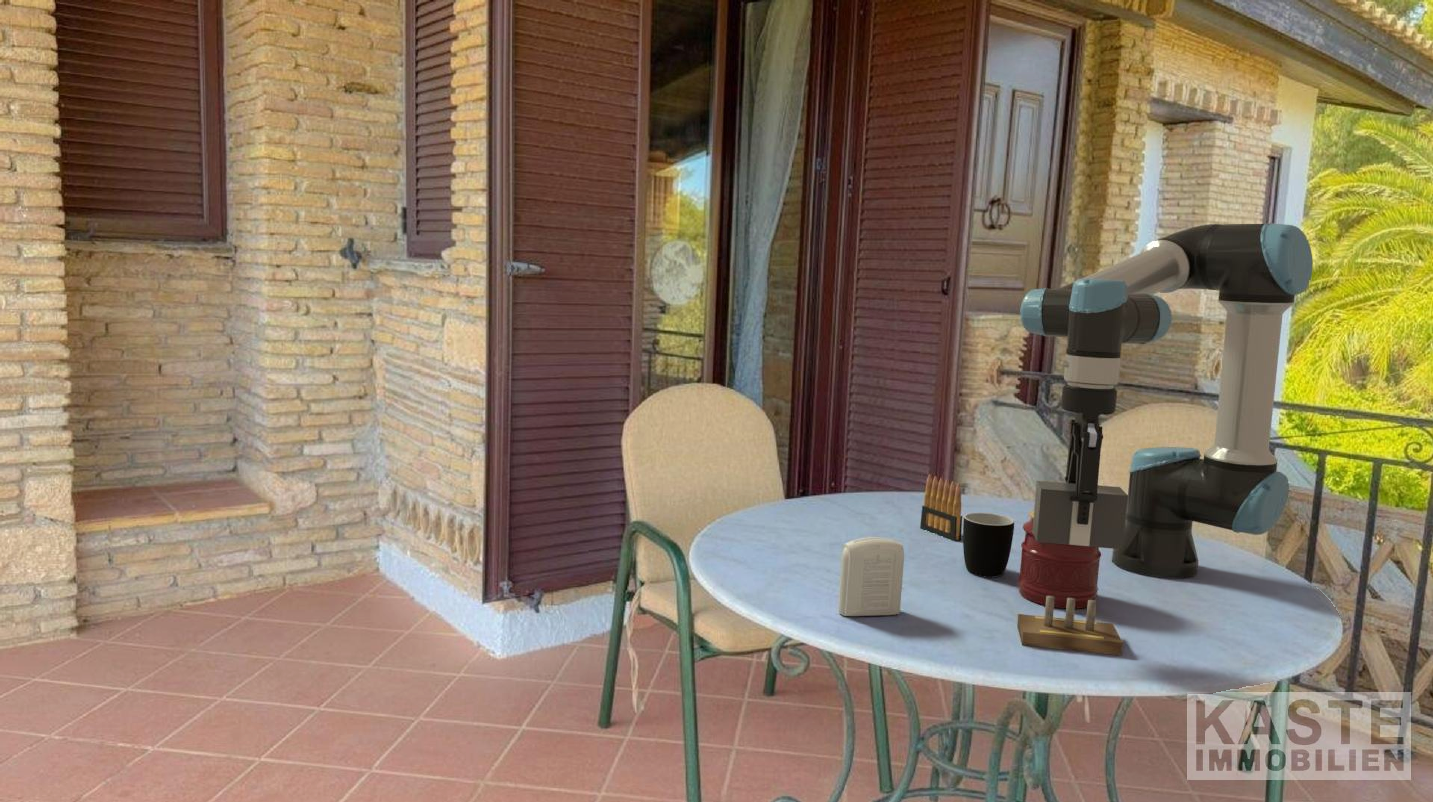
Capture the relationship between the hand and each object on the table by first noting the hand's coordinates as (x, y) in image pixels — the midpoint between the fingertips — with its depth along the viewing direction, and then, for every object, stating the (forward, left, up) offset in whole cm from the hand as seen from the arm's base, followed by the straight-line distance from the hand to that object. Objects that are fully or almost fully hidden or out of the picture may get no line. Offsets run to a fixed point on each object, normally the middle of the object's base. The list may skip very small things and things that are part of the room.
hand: (1075, 538), depth 149 cm
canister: (-1, -21, -16) cm, 27 cm away
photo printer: (+30, -3, -16) cm, 34 cm away
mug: (+11, -33, -16) cm, 38 cm away
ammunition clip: (+18, -56, -16) cm, 61 cm away
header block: (0, 0, -16) cm, 16 cm away
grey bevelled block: (0, 0, 0) cm, 0 cm away
